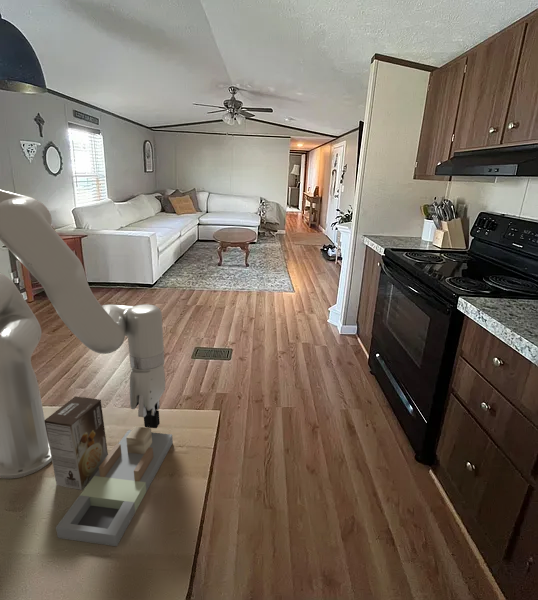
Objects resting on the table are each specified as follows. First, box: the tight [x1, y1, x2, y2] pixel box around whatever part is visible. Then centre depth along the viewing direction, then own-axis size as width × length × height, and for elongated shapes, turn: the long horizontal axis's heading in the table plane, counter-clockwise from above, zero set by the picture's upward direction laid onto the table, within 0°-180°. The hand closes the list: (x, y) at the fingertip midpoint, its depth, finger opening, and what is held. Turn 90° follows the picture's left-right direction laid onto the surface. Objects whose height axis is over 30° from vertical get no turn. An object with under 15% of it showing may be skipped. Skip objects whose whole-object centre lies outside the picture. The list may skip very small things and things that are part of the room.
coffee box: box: [44, 396, 109, 491], centre depth 78 cm, size 9×6×16 cm
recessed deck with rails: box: [55, 429, 174, 547], centre depth 78 cm, size 11×27×5 cm, turn 173°
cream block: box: [126, 426, 152, 454], centre depth 84 cm, size 4×4×4 cm
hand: (152, 425), depth 91 cm, fingers closed
